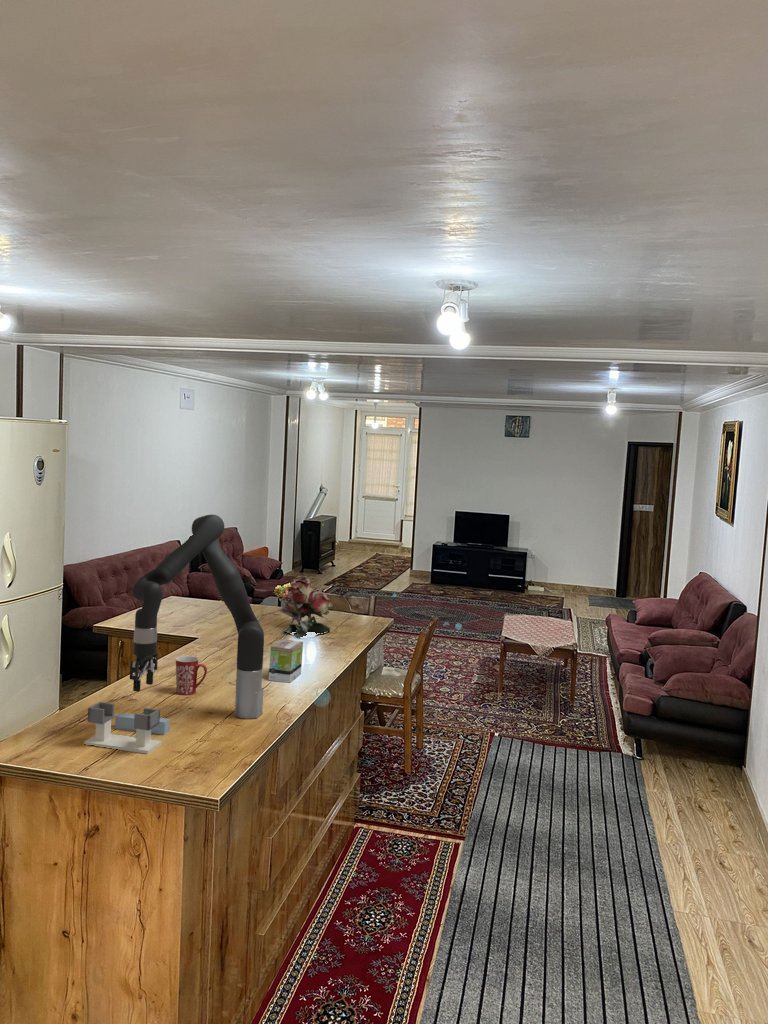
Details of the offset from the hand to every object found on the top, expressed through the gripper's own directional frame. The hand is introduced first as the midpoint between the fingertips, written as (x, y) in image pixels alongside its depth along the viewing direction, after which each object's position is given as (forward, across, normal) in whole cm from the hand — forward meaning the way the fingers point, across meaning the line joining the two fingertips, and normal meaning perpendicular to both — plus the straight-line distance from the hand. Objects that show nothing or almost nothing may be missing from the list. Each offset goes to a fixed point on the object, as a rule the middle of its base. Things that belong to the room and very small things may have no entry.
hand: (143, 687), depth 268 cm
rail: (+15, 0, 0) cm, 15 cm away
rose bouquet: (+14, +164, -4) cm, 164 cm away
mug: (+15, +43, +3) cm, 45 cm away
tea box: (+14, +78, -24) cm, 83 cm away
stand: (+14, -14, -1) cm, 20 cm away
